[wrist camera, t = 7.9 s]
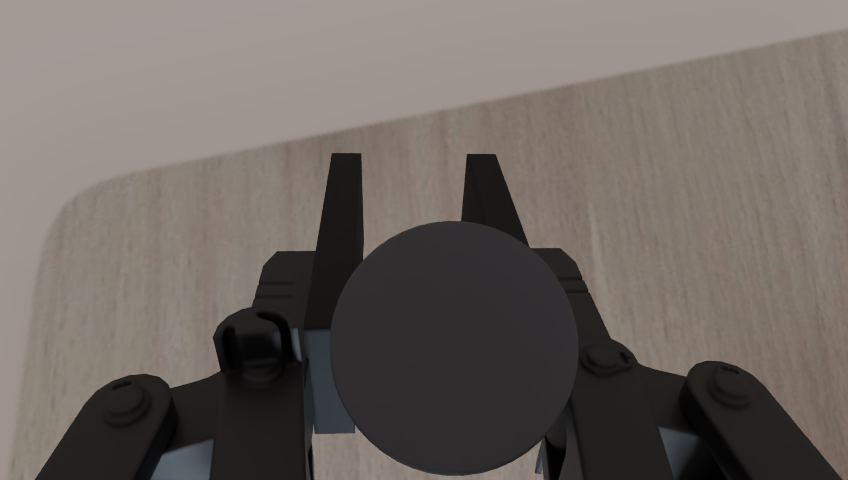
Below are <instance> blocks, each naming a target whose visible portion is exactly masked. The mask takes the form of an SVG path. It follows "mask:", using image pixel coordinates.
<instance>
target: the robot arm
mask: <svg viewBox="0 0 848 480" xmlns="http://www.w3.org/2000/svg"><path fill="white" fill-rule="evenodd" d="M461 221H464V222H470V223H477V224H481V225H485V226H488V227H492V228H495V229H497V230H499V231H502V232H504V233H506V234H509V235H510V236H512V237H514V238H515V239H517V240H519V241H521V242H522V243H524V244H525V245H526V246H527V247H529V244H528V242H527V239H526V236H525V234H524V231H523V228H522V225H521V223H520V220H519V217H518V214H517V212H516V209H515V206H514V203H513V201H512V198H511V195H510V193H509V190H508V187H507V184H506V182H505V179H504V176H503V173H502V171H501V168H500V165H499V163H498V160H497V157H496V154H467V160H466V172H465V183H464V195H463V206H462V218H461ZM363 246H364V229H363V195H362V161H361V153H332V156H331V162H330V168H329V174H328V180H327V186H326V192H325V198H324V204H323V211H322V217H321V223H320V229H319V235H318V241H317V247H316V251H277V252H276V253H275V254H274V255H273V256H272V257H271V258H270V259H269V260H268V261H267V262H266V263H265V265H264V266H263V269H262V273H261V276H260V280H259V285H258V287H257V290H256V294H255V298H254V301H253V304H252V307H250V308H246V309H241V310H240V311H238V312H236V313H234V314H232V315H230V316H228V317H227V318H226V319H225V320H224V321H223V322H222V323H220V324H219V325H218V327H217V329H216V331H215V334H214V336H213V340H214V344H215V348H216V352H217V356H218V361H219V365H220V369H221V371H219V372H218V373H216V374H214V375H212V376H210V377H208V378H205V379H202V380H199V381H196V382H193V383H189V384H185V385H181V386H178V387H174V388H169V385H168V384H167V383H166V382H165V381H163V380H162V379H161V378H160V377H157V376H152V375H148V374H139V375H129V376H126V377H123V378H120V379H117V380H114V381H112V382H110V383H108V384H107V385H105V386H104V387H102V388H101V389H99V390H97V391H96V392H95V393H94V394H93V395H92V397H91V398H90V399H89V400H88V401H87V402H86V403H85V404H84V406H83V407H82V409H81V410H80V412H79V414H78V415H77V417H76V418H75V420H74V421H73V423H72V424H71V426H70V427H69V429H68V430H67V432H66V433H65V435H64V436H63V438H62V439H61V441H60V442H59V444H58V445H57V447H56V448H55V450H54V451H53V453H52V454H51V456H50V457H49V459H48V461H47V462H46V464H45V465H44V467H43V468H42V470H41V471H40V473H39V474H38V476H37V477H36V479H35V480H314V461H313V450H312V442H311V441H312V432H313V424H314V430H315V434H333V433H355V424H354V422H353V421H352V419H351V418H350V417H349V415H348V413H347V411H346V409H345V408H344V406H343V404H342V402H341V400H340V397H339V394H338V392H337V389H336V386H335V383H334V379H333V374H332V370H331V362H330V351H329V349H330V331H331V326H332V320H333V315H334V312H335V309H336V306H337V302H338V300H339V298H340V295H341V293H342V291H343V289H344V287H345V285H346V283H347V282H348V280H349V278H350V277H351V275H352V274H353V272H354V271H355V270H356V268H357V267H358V266H359V265H360V264H361V262H362V261H363ZM529 248H530V247H529ZM530 249H531V250H533V251H534V252H535V253H536V254H537V255H538V256H539V257H540V258H541V259H542V260H543V261H544V262H545V263H546V264H547V265H548V267H549V268H550V269H551V271H552V272H553V273H554V274H555V276H556V277H557V279H558V281H559V282H560V284H561V286H562V287H563V289H564V291H565V293H566V295H567V298H568V300H569V302H570V305H571V308H572V311H573V315H574V318H575V322H576V328H577V334H578V364H577V372H576V376H575V381H574V385H573V388H572V391H571V394H570V397H569V399H568V402H567V404H566V406H565V408H564V410H563V412H562V414H561V415H560V417H559V419H558V420H557V421H556V423H555V424H554V426H553V427H552V429H551V430H550V431H549V432H548V433H547V434H546V435H545V436H544V438H543V439H542V442H541V446H540V450H539V454H538V458H537V462H536V469H535V473H538V474H541V470H542V466H543V476H544V480H842V479H841V478H840V476H839V475H838V474H837V473H836V472H835V470H834V469H833V468H832V467H831V466H830V464H829V463H828V462H827V461H826V460H825V458H824V457H823V456H822V455H821V453H820V452H819V451H818V450H817V449H816V447H815V446H814V445H813V444H812V443H811V441H810V440H809V439H808V438H807V437H806V435H805V434H804V433H803V432H802V431H801V429H800V428H799V427H798V426H797V425H796V423H795V422H794V421H793V420H792V419H791V417H790V416H789V415H788V414H787V413H786V411H785V410H784V409H783V408H782V407H781V405H780V404H779V403H778V402H777V401H776V399H775V398H774V397H773V396H772V395H771V393H770V392H769V391H768V390H767V389H766V387H765V386H764V385H763V384H762V383H761V382H760V381H758V380H757V379H756V378H755V377H754V376H753V375H752V374H750V373H748V372H746V371H745V370H743V369H741V368H739V367H738V366H734V365H731V364H728V363H725V362H721V361H705V362H701V363H698V364H695V365H694V366H693V367H692V369H691V370H690V371H689V372H688V374H687V377H685V376H681V375H677V374H672V373H668V372H663V371H659V370H655V369H652V368H649V367H645V366H643V365H641V364H639V363H638V362H637V360H636V358H635V356H634V355H633V353H632V352H631V351H629V350H628V349H627V348H626V347H625V346H624V345H623V344H621V343H619V342H617V341H615V340H613V339H611V338H610V336H609V333H608V331H607V329H606V327H605V325H604V323H603V321H602V318H601V316H600V314H599V312H598V310H597V308H596V305H595V303H594V301H593V299H592V297H591V295H590V293H588V288H587V286H586V284H585V282H584V280H582V275H581V273H580V271H579V269H578V267H577V264H576V262H575V261H574V260H573V259H572V258H570V257H569V256H568V255H567V254H566V253H565V252H564V251H563V250H562V249H560V248H530Z"/></svg>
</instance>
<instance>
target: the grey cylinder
mask: <svg viewBox="0 0 848 480" xmlns="http://www.w3.org/2000/svg"><path fill="white" fill-rule="evenodd" d="M329 351H330V362H331V370H332V374H333V379H334V383H335V386H336V389H337V392H338V394H339V397H340V400H341V402H342V404H343V406H344V408H345V409H346V411H347V413H348V415H349V417H350V418H351V419H352V421H353V422H354V424H355V425H356V427H357V428H358V429H359V430H360V431H361V433H362V434H363V435H364V436H365V437H366V438H367V439H368V440H369V441H370V442H371V443H372V444H373V445H375V446H376V447H377V448H378V449H379V450H381V451H382V452H383V453H385V454H386V455H388V456H389V457H391V458H393V459H394V460H396V461H398V462H400V463H402V464H404V465H407V466H409V467H411V468H413V469H417V470H420V471H424V472H427V473H432V474H439V475H446V476H464V475H471V474H478V473H483V472H487V471H490V470H493V469H497V468H499V467H501V466H504V465H506V464H508V463H510V462H512V461H514V460H516V459H517V458H519V457H521V456H522V455H524V454H525V453H527V452H528V451H529V450H530V449H532V448H533V447H534V446H535V445H536V444H538V443H539V442H540V441H541V440H542V439H543V438H544V436H545V435H546V434H547V433H548V432H549V431H550V430H551V429H552V427H553V426H554V424H555V423H556V421H557V420H558V419H559V417H560V415H561V414H562V412H563V410H564V408H565V406H566V404H567V402H568V399H569V397H570V394H571V391H572V388H573V385H574V381H575V376H576V372H577V364H578V334H577V328H576V322H575V318H574V315H573V311H572V308H571V305H570V302H569V300H568V298H567V295H566V293H565V291H564V289H563V287H562V286H561V284H560V282H559V281H558V279H557V277H556V276H555V274H554V273H553V272H552V271H551V269H550V268H549V267H548V265H547V264H546V263H545V262H544V261H543V260H542V259H541V258H540V257H539V256H538V255H537V254H536V253H535V252H534V251H533V250H531V249H530V248H529V247H527V246H526V245H525V244H524V243H522V242H521V241H519V240H517V239H515V238H514V237H512V236H510V235H509V234H506V233H504V232H502V231H499V230H497V229H495V228H492V227H488V226H485V225H481V224H477V223H470V222H464V221H444V222H434V223H429V224H425V225H421V226H417V227H414V228H411V229H409V230H406V231H403V232H401V233H399V234H398V235H396V236H394V237H392V238H390V239H388V240H387V241H386V242H384V243H383V244H381V245H380V246H379V247H377V248H376V249H375V250H374V251H372V252H371V253H370V254H369V255H368V256H367V257H366V258H365V259H364V260H363V261H362V262H361V264H360V265H359V266H358V267H357V268H356V270H355V271H354V272H353V274H352V275H351V277H350V278H349V280H348V282H347V283H346V285H345V287H344V289H343V291H342V293H341V295H340V298H339V300H338V302H337V306H336V309H335V312H334V315H333V320H332V326H331V331H330V349H329Z"/></svg>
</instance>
